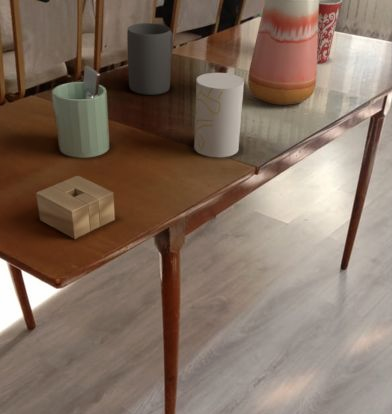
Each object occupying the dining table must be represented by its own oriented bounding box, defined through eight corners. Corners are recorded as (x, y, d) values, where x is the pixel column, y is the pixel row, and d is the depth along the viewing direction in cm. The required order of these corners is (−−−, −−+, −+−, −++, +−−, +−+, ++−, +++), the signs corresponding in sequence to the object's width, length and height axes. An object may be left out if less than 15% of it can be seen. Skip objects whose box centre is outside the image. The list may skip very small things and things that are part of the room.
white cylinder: (186, 142, 116) (188, 76, 108) (224, 136, 119) (229, 70, 111) (207, 160, 111) (210, 91, 103) (246, 152, 114) (252, 85, 106)
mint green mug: (119, 147, 114) (117, 91, 107) (82, 162, 109) (76, 104, 102) (76, 128, 120) (71, 74, 113) (38, 142, 114) (30, 85, 108)
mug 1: (155, 98, 133) (155, 37, 125) (120, 89, 136) (118, 29, 129) (188, 81, 142) (190, 23, 134) (155, 73, 145) (154, 16, 138)
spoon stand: (74, 239, 90) (71, 211, 87) (39, 220, 93) (35, 192, 91) (115, 219, 94) (113, 192, 91) (80, 202, 98) (77, 175, 95)
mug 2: (337, 57, 159) (347, -3, 150) (324, 67, 153) (333, 5, 144) (291, 48, 164) (299, -10, 155) (276, 57, 158) (283, -4, 149)
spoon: (87, 148, 112) (96, 75, 101) (76, 139, 113) (83, 66, 102) (92, 146, 113) (101, 73, 102) (81, 137, 114) (89, 64, 103)
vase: (325, 98, 137) (352, -63, 117) (289, 115, 128) (312, -54, 109) (270, 82, 144) (288, -73, 124) (233, 97, 135) (245, -66, 115)
